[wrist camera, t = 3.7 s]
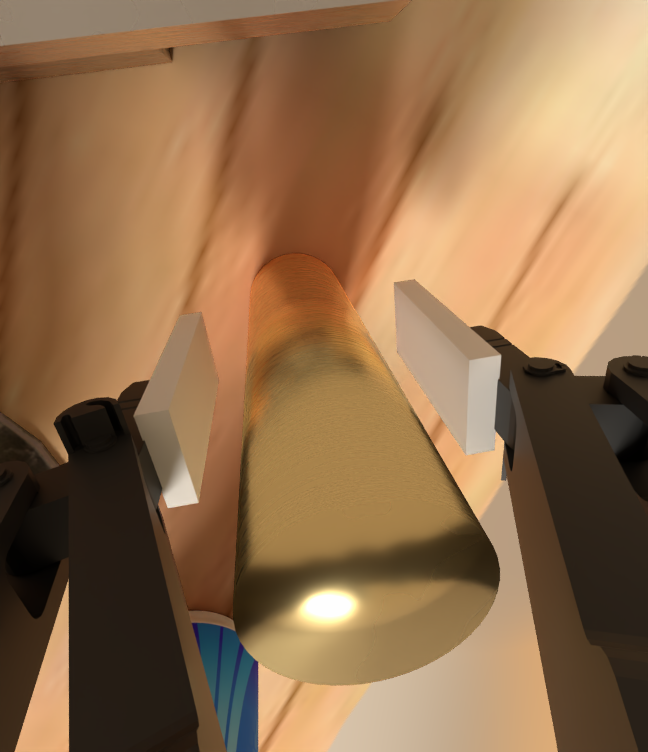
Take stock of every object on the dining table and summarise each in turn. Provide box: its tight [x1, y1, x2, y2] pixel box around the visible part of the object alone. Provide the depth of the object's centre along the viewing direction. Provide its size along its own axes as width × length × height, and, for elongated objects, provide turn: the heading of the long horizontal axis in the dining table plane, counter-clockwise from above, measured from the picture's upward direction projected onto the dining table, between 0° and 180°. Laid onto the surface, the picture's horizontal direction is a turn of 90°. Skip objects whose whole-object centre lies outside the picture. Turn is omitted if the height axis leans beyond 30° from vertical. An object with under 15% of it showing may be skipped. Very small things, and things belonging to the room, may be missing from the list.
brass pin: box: [233, 253, 500, 685], centre depth 13 cm, size 4×4×15 cm
